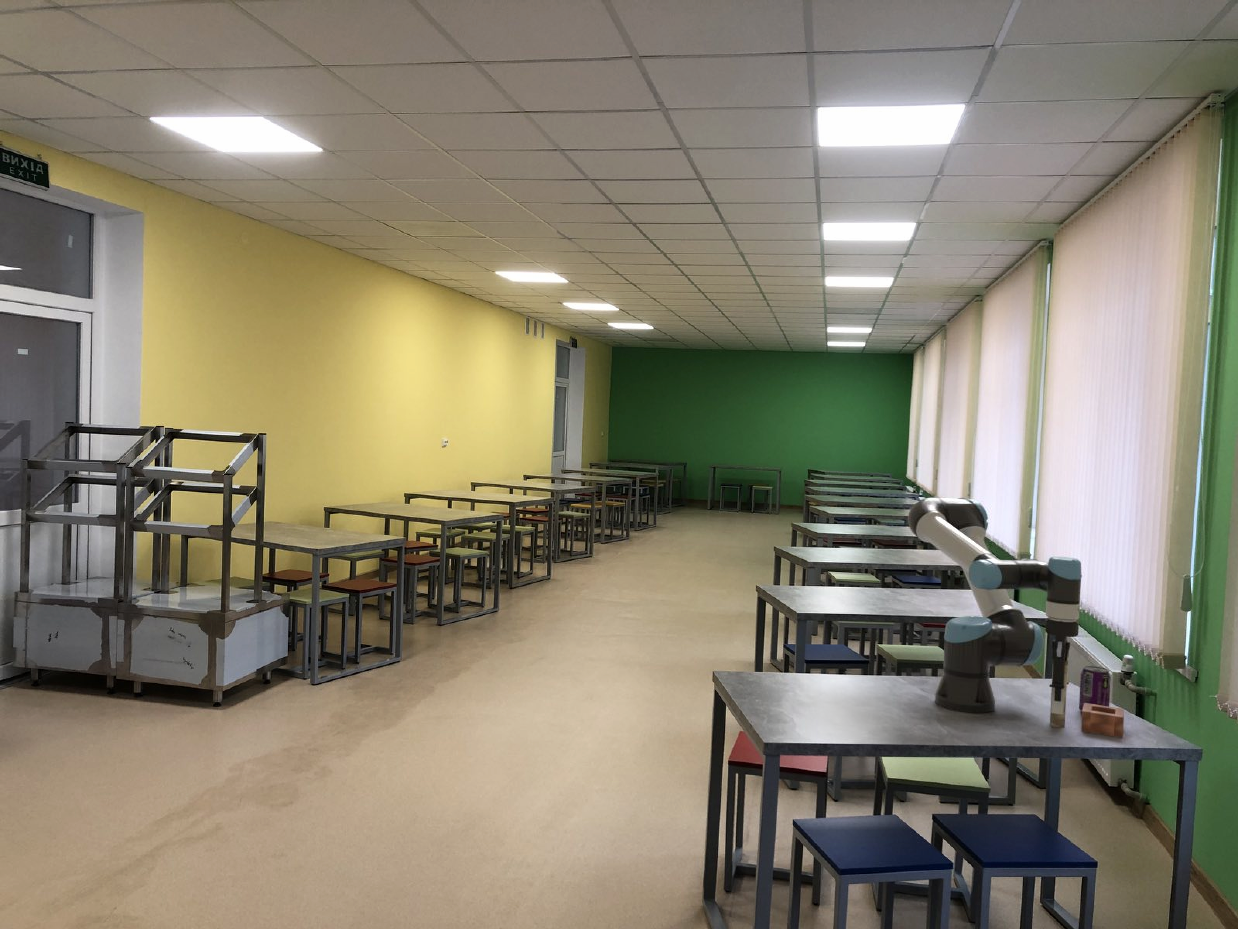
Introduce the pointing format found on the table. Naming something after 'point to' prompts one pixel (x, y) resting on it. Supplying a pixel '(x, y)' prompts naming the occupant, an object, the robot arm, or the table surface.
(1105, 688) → the beverage can
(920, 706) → the table surface
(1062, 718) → the wooden dowel rod
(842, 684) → the table surface
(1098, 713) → the brown hollow square block
